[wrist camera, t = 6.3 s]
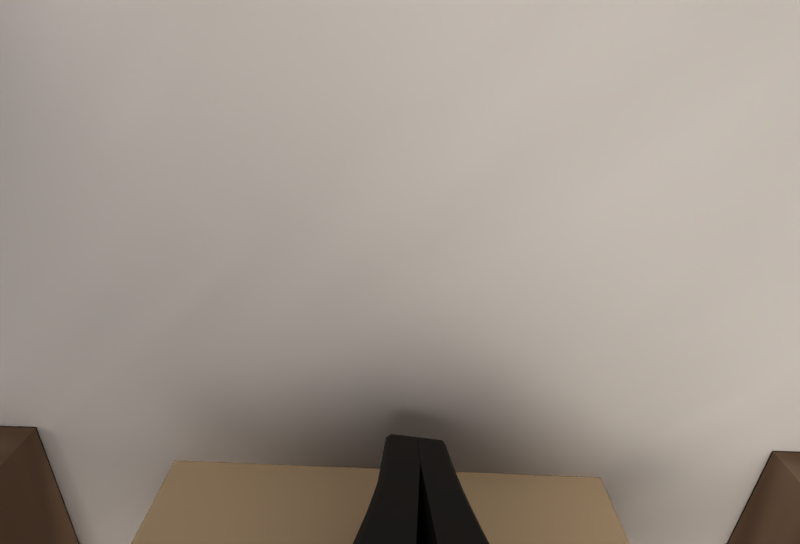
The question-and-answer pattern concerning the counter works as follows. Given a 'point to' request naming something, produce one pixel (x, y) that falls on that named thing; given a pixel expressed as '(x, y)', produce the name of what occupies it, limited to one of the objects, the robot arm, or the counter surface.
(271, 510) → the kraft carton
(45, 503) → the tray
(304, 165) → the counter surface
